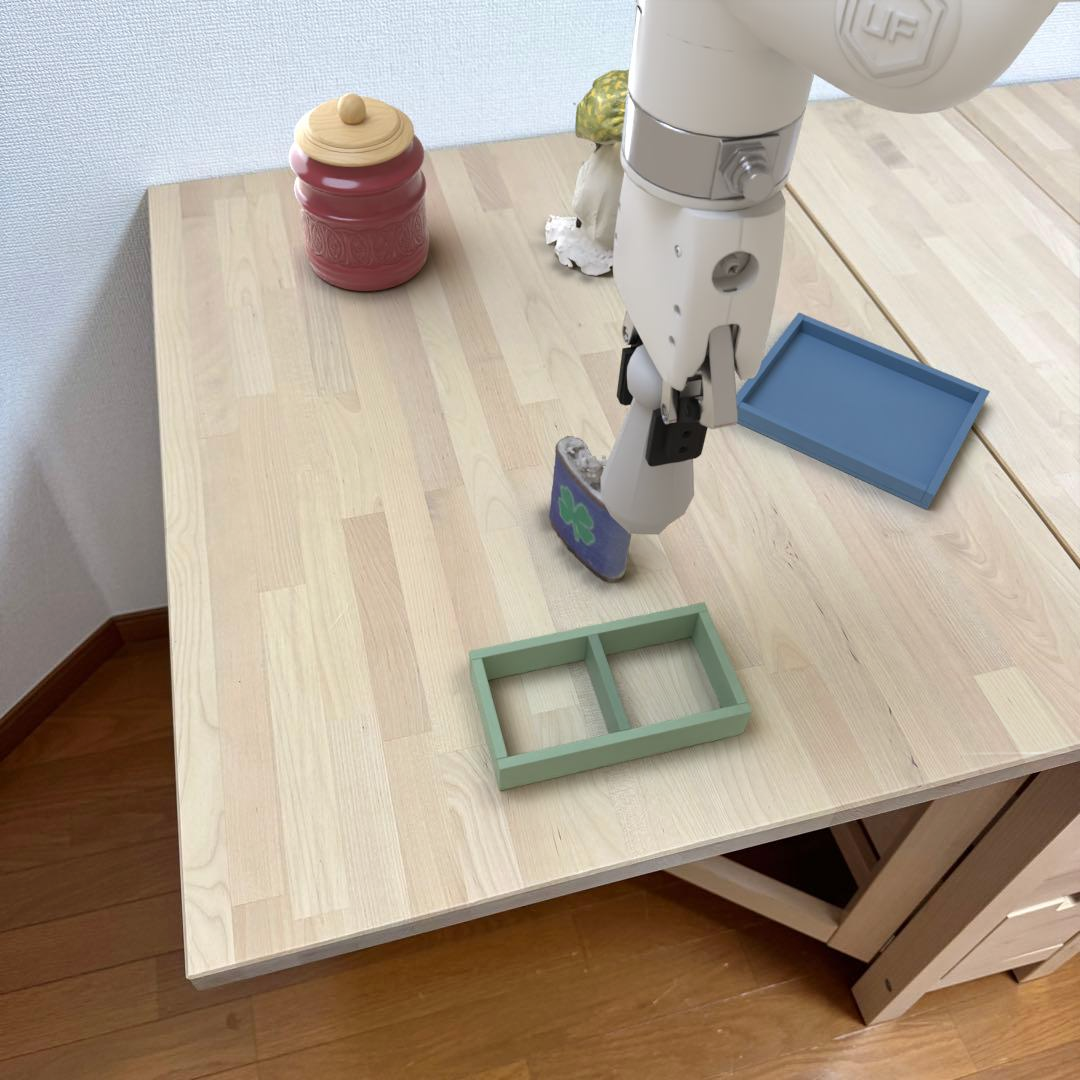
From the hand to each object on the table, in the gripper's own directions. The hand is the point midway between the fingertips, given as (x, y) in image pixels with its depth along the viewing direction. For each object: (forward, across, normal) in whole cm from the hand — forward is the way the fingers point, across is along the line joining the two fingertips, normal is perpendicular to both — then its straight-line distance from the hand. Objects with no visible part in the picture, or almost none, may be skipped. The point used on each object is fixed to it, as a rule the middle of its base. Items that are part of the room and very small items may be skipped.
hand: (657, 425), depth 58 cm
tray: (+25, +20, -30) cm, 44 cm away
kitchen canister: (+25, +53, +10) cm, 60 cm away
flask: (+25, +11, -1) cm, 27 cm away
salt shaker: (+8, 0, 0) cm, 8 cm away
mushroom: (+25, +50, -15) cm, 58 cm away
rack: (+25, -4, +2) cm, 25 cm away
